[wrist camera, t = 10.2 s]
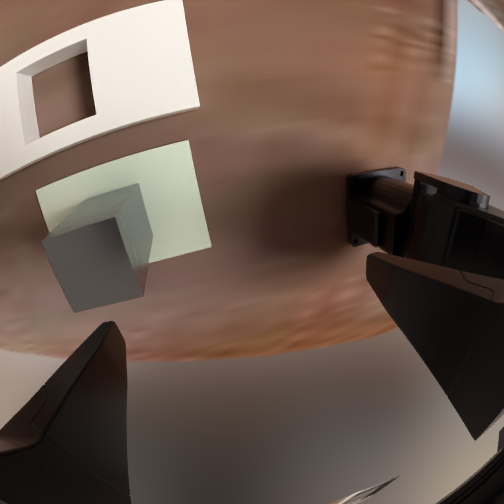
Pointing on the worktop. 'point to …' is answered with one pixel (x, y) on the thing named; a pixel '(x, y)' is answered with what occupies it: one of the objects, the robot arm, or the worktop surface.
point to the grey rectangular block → (102, 249)
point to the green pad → (153, 192)
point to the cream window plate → (102, 80)
